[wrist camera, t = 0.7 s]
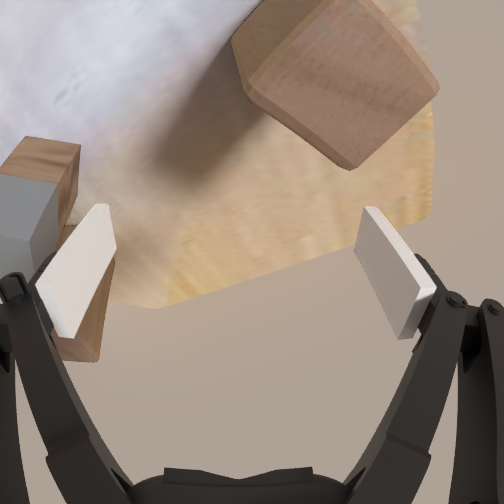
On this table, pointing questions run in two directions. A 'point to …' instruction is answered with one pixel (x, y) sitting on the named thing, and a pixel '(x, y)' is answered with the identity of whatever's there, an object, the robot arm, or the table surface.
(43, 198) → the grey cube
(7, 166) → the walnut base cube
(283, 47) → the wooden block
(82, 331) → the block
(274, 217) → the table surface
